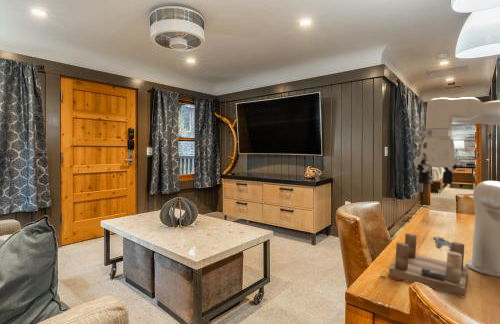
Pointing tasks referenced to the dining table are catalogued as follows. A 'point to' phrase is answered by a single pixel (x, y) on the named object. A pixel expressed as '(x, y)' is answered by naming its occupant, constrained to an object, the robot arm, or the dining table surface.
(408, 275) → the stool
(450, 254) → the hinged leg
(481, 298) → the dining table surface
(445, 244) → the driftwood
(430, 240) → the dining table surface
